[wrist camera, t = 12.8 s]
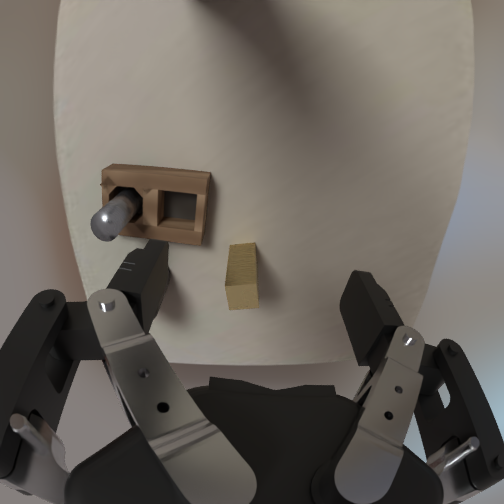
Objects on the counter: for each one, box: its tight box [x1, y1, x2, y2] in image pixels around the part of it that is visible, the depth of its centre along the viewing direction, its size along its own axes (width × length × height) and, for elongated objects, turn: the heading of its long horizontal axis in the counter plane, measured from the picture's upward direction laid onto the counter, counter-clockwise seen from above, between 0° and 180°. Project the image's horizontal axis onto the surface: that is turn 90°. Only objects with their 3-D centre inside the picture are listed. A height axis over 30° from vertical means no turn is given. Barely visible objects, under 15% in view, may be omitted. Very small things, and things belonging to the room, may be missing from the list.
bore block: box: [100, 164, 211, 246], centre depth 37 cm, size 9×14×4 cm, turn 81°
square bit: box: [225, 243, 259, 310], centre depth 38 cm, size 4×4×10 cm
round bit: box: [91, 187, 143, 241], centre depth 33 cm, size 4×4×10 cm
